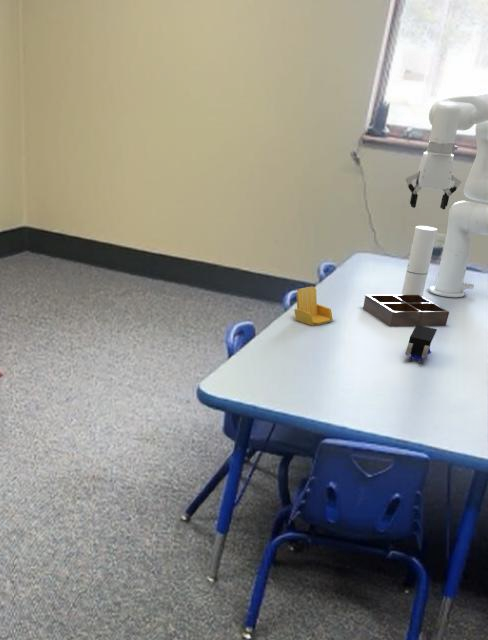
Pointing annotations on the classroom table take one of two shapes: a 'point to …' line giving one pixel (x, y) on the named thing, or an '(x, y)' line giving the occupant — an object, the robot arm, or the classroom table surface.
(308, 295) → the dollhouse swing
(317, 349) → the classroom table surface
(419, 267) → the cylindrical container
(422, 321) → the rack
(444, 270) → the robot arm
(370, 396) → the classroom table surface
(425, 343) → the figurine character
